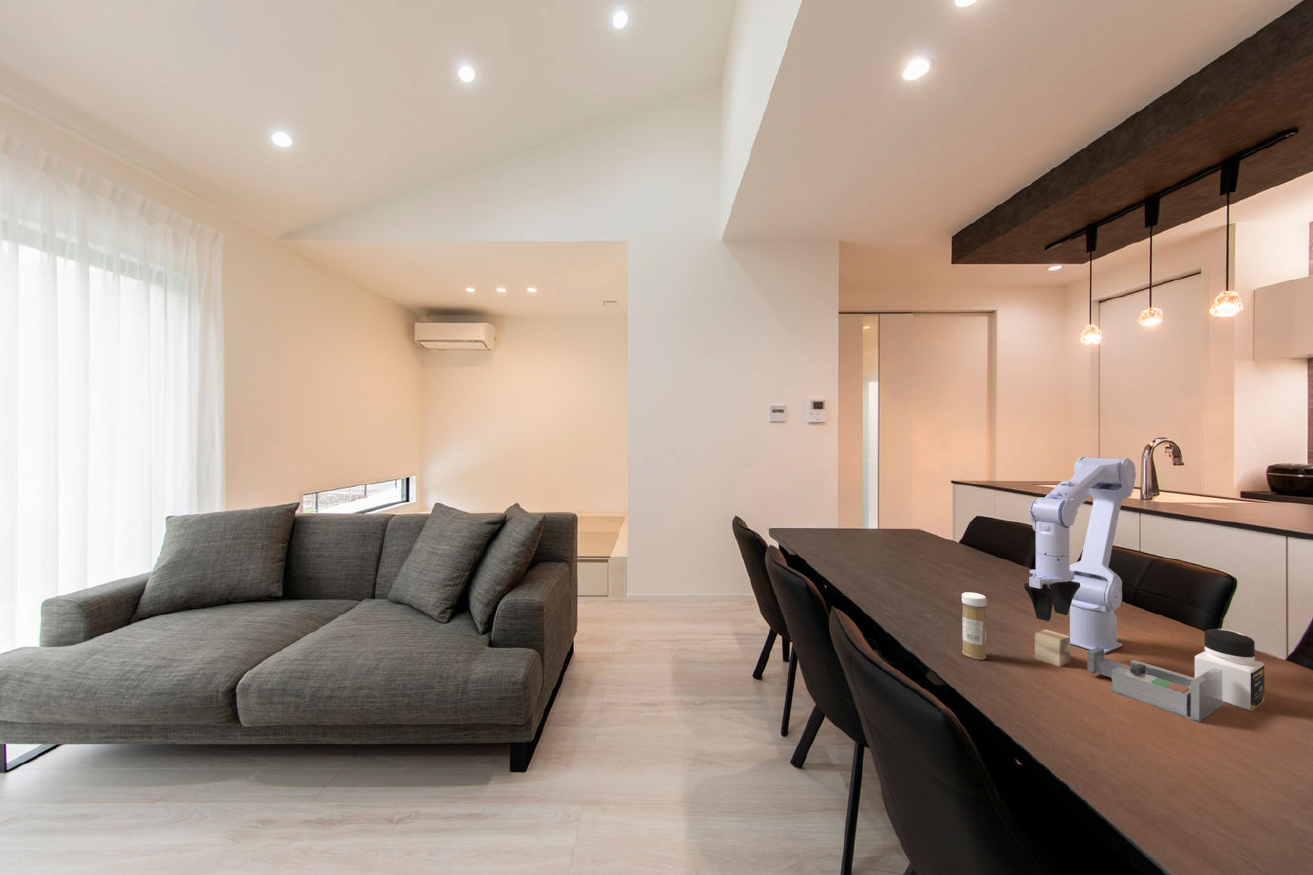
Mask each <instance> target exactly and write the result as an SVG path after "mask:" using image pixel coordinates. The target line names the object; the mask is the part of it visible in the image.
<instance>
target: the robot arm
mask: <svg viewBox="0 0 1313 875" xmlns="http://www.w3.org/2000/svg"><path fill="white" fill-rule="evenodd" d="M1073 473H1074V474H1073V475H1072V477H1070V479H1069V480H1062V481H1060V483H1058V484H1057V485H1056V486H1055V487H1054V488H1053V489H1052V490H1051V491H1050V492H1049V493H1047V495H1046V496H1045V497H1040V496H1039V497H1038V498H1036V499H1033V500H1032V502H1031V504H1030V509H1029V517H1030V519H1031V523H1032V530H1033V531H1034V532H1035V569H1030V570H1029V574H1032V576H1029V578H1028V579H1029V580H1028V582H1025V583H1024V585H1023V586H1024V590H1025V591H1026V593H1027V594H1028V597H1029V598H1030V601H1031V603H1032V606H1033V610H1034V613H1035V617H1036V620H1037V619H1038V620H1042V621H1045V622H1050V620H1051V617H1052V610H1054V613H1057V614H1058V615H1059V614H1060V615H1063V616H1068V615H1069V635H1068V636H1069V637H1070V645H1073V646H1076V647H1080V648H1083V649H1087V650H1088V651H1089V650H1092V649H1094V648H1097V647H1100V648H1103V649H1104V654H1106V653H1109V652H1111V651H1114V650H1115V649H1116V650H1117V649H1119V648H1120V647H1122V646H1123V643H1121V642H1118V618H1117V614H1116V613H1115V611H1116V610H1117V609H1119V607H1120V606H1121V603H1122V600H1123V590H1122V588H1123V580H1122V579H1121V577H1120V576H1119V575H1118V574H1117V573H1116V572H1114V571H1113V570H1112V569H1111V568H1110V567H1109V565H1110V560H1111V556H1112V549H1113V545H1114V541H1115V536H1116V531H1117V526H1118V521H1119V515H1120V510H1121V507H1122V503H1123V500H1125V499H1127V498H1129V497H1131V496H1132V494H1133V491H1134V488H1135V481H1136V477H1137V472H1136V466H1135V463H1134V461H1132V459H1130V458H1129V457H1125V458H1117V457H1115V458H1111V457H1110V458H1107V457H1086V456H1080V457H1078V459H1077V460H1076V461H1075V462H1074V465H1073ZM1088 496H1090V497H1092V499H1093V500H1092V501H1093V502H1092V507H1091V510H1090V515H1089V520H1088V526H1087V530H1086V533H1085V534H1086V535H1085V538H1084V544H1083V548H1082V553H1081V558H1080V560H1079V561H1077V562H1074V563H1072V564H1070V562H1071V561H1070V554H1071V552H1070V549H1071V548H1070V544H1071V542H1070V532H1071V531H1070V530H1071V529H1070V528H1071V527H1072V526H1073V525H1074V524H1075V521H1076V516H1077V515H1078V513H1079V512H1078V509H1079V508H1080V507H1081V506H1082V505H1083V504H1084V503H1085V502H1086V500H1088Z"/></svg>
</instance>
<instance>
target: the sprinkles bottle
mask: <svg viewBox="0 0 1313 875" xmlns="http://www.w3.org/2000/svg"><path fill="white" fill-rule="evenodd" d="M961 602H962V603H961V604H962V618H961V619H962V625H961V626H962V628H961V629H962V633H961V635H962V651H961V652H962V654H963V656H966V657H967V658H969V659H973V660H977V661H979V660H980V661H981V660H985V659H987V654H986V653H987V652H986V651H987V646H986V644H987V628H986V625H987V623H986V616H987V615H986V606H987V596H985V595H984V594H982V593H981V594H980V593H977V592H971V591H970V592H968V591H967V592H966V591H965V592H963V593H961Z"/></svg>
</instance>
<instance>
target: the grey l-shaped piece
mask: <svg viewBox="0 0 1313 875" xmlns="http://www.w3.org/2000/svg"><path fill="white" fill-rule="evenodd" d="M1117 667H1121V668H1124V669H1128V670H1130V673H1133V674H1138V673H1140V672H1141V673H1145V674H1148V675H1149V672H1147V671H1146V666H1145V665H1142V664H1138V665H1136V666H1134V667H1131V666H1130V665H1128V664H1124V663H1121V662H1118V661H1115V660H1113V659H1112V660H1111V659H1108V658H1105V653H1104V649H1103V648H1100V647H1097V648H1094V649H1092V650H1089V649H1088V650H1087V672H1088V673H1091V674H1095V673H1096V674H1100V675H1103V676H1105V677H1109V678H1111V679H1112V670H1113V669H1115V668H1117Z"/></svg>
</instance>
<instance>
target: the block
mask: <svg viewBox="0 0 1313 875" xmlns="http://www.w3.org/2000/svg"><path fill="white" fill-rule="evenodd" d="M1069 636H1070V635H1065V634H1063V633H1059V632H1056V631H1052V630H1048V629H1043V630H1040V631H1037V632H1035V633H1034V658H1035V659H1037V660H1040V661H1042V662H1045V663H1047V664H1049V665H1050V664H1051V665H1054V666H1057V667H1062V666H1065V665H1067V664H1069V663H1071V644H1070V637H1069Z"/></svg>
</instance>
